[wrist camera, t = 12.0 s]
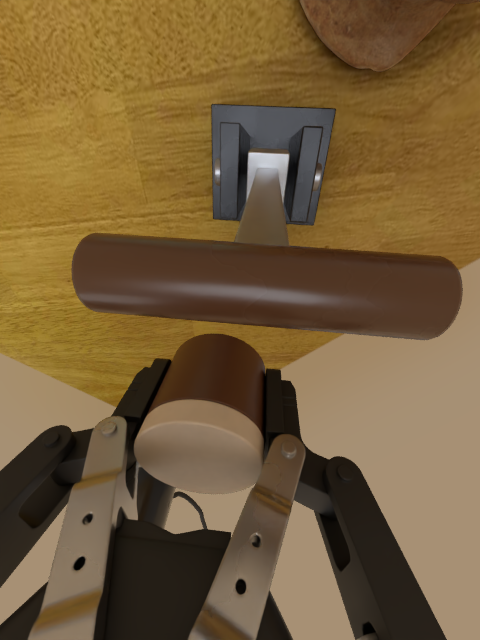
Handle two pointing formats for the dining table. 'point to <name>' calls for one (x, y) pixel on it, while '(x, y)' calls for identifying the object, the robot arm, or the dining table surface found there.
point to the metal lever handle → (268, 275)
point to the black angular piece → (273, 133)
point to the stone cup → (375, 27)
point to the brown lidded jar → (207, 418)
